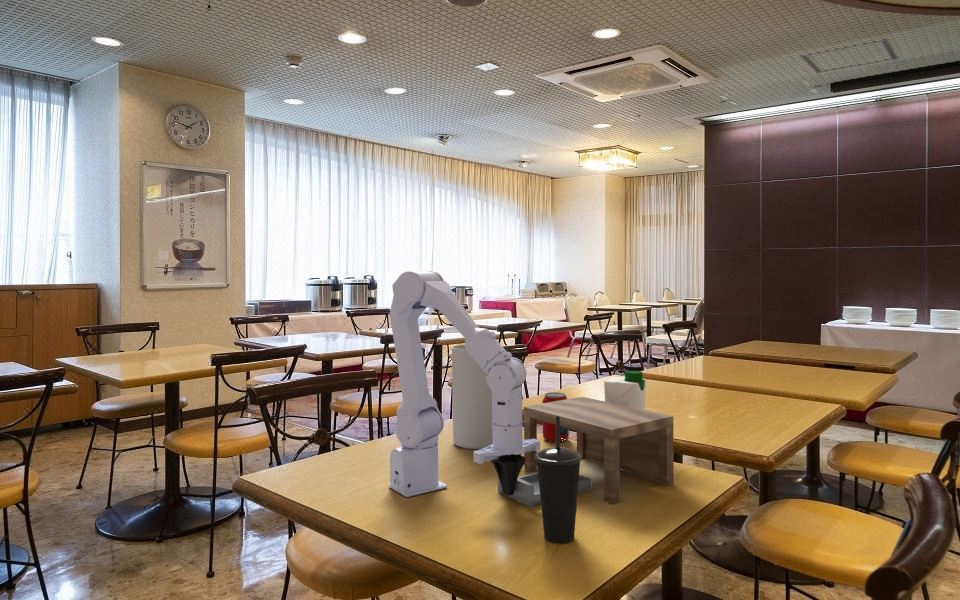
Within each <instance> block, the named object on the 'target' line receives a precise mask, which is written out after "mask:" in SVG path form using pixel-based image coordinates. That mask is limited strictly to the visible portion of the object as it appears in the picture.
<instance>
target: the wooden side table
mask: <svg viewBox="0 0 960 600" xmlns="http://www.w3.org/2000/svg"><path fill="white" fill-rule="evenodd" d="M556 416H560V426H562V427H566V428H569V430H573V431H576V452H578V453H580V454H581V455H582V459H587V460H591V461H594V462H597V463H601V464H603V467H604V469H603V470H604V472H603V473H604V474H603V475H604V478H603V479H604V481H603V482H604V483H603V485H604V490H603V491H604V493H603V494H604V499H603V500H604V502H606V503H609V504H613V505H614V504H616V503H619V502H621V499H620V498H621V496H620V494H621V492H620V491H621V490H620V483H621V482H620V478H621V476H620V470H622V471H625V472H627V473H631V474H634V475H637V476H640V477H643V478H646V479H648V480H653V481H656V482H658V483H659V485H663V486H665V487H669V486H673V485H674V483H675V482H674V477H675V476H674V475H675V473H674V470H675V468H674V460H675V459H674V455H675V454H674V416H673V415H670V414H666V413H665V414H664V413H660V412H657V411H651V410H647V409H645V410H642V409H638V408H633V407H628V406H624V405H619V404H614V403H610V402H605V400H600V399H596V398H590V397H587V396H579V397H574V398H567V399H566V400H560V401H554V402H548V403H543V402H542V403H539V404H532V405H526V406H523V440H529V439H536V440H538V434H537V433H538V429H537V427H538V426H537V423H538V421H542V422H543V421H544V422H548V423H552V424H555V425H556ZM537 452H538V451H529V452H525V453H523V456H524V457H525V464H524V465H523V467H524V470H525V471H528V472H534V471H538V469H537V460H536V459H535V454H536V453H537Z"/></svg>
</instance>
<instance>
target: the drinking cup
mask: <svg viewBox="0 0 960 600" xmlns="http://www.w3.org/2000/svg"><path fill="white" fill-rule="evenodd" d="M535 459H536V460H537V472H538V479H539V489H540V498H541V504H540V506H541V507H540V508H541V516H542V525H543V526H542V527H543V536H544V540H546V541H547V540H548V541H547V542H549V543H551V542H552V544H556V543H559V545H563V544H568V543H572V542H573V541H574V539H575V531H576V520H577V519H576V517H577V507H578V506H577V505H578V494H579V493H578V482H579V475H580V469H581V461H582V460H583V458H582V455H581V454H580V453H578V452H577V450H576V451H575V450H573V449H571V448H569V447H564V446H561V442H560V416H556V442H555V446H550V447H546V448H543V449H540V450H539V451H537V453H536V454H535Z"/></svg>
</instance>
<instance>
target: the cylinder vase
mask: <svg viewBox="0 0 960 600" xmlns="http://www.w3.org/2000/svg"><path fill="white" fill-rule="evenodd" d="M486 376H488V374H486V373H485V372H484V371H483V369H482V368H481V367H480V366H479V364H478V363H477V362H476V361H475V360H474V358H473V357H472V356H471V355H470V353H469V352H468V351H467V350H466V348H465V343H464V344H456V345H452V346H451V377H452V378H451V384H452V385H451V388H452V389H451V390H452V391H451V392H452V394H451V395H452V397H451V398H452V399H451V400H452V442H453V444H454V445H455V446H456V447H459V448H463V449H467V450H480V449H483V448H485V447H488V446H490V445H492V444H493V430H492V390H491V389H490V387H489V386H488V384H487V381H486Z"/></svg>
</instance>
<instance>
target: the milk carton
mask: <svg viewBox="0 0 960 600" xmlns="http://www.w3.org/2000/svg"><path fill="white" fill-rule="evenodd" d="M624 371H625V370H624ZM643 377H644V376H643V371H641V370H626V371H625V372H624V377H623V376H622V377H620V376H613V377H611V378H609V379H606V380H605V381H604V382H603V387H604V388H603V389H604V390H603V391H604V401H605V402H610V403H614V404H619V405H624V406H628V407H633V408H638V409H642V410H646V385H647V383H646V382H647V380H646V378H643Z"/></svg>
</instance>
